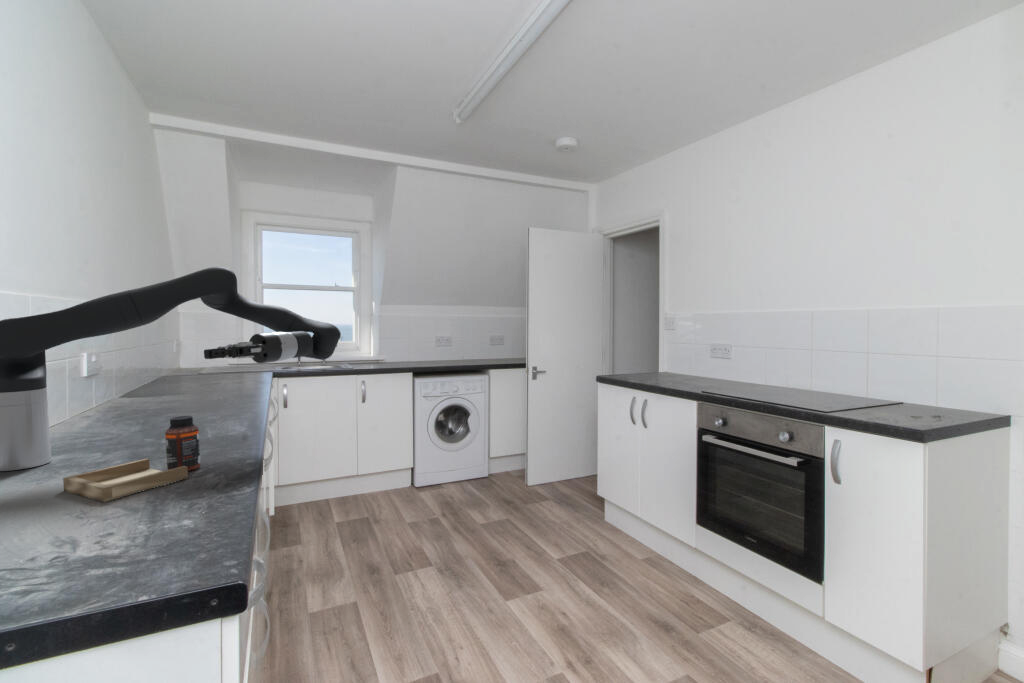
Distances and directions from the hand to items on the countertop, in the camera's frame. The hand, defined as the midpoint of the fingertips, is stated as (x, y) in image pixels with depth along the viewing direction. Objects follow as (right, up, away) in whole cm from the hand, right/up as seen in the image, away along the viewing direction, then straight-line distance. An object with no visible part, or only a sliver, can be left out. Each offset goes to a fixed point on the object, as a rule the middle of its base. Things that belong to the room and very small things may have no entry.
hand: (206, 354), depth 111 cm
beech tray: (-6, -25, -16) cm, 30 cm away
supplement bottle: (-1, -25, -6) cm, 25 cm away
